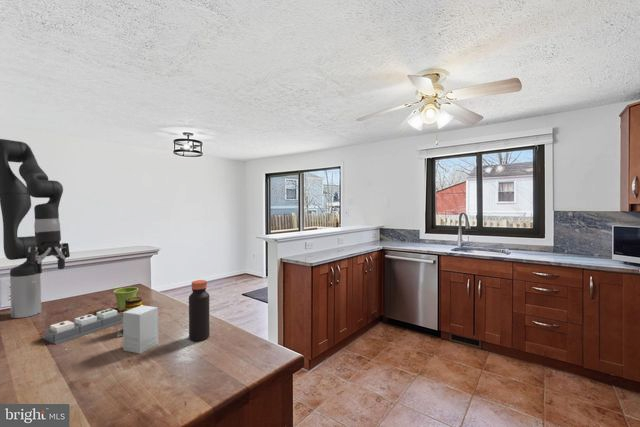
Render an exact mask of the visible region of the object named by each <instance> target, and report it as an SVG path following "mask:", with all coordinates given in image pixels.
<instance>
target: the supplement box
mask: <svg viewBox="0 0 640 427" xmlns="http://www.w3.org/2000/svg"><path fill="white" fill-rule="evenodd" d="M122 320H123V323H122V329H123V336H122V337H123V338H122V339H123V341H122V342H123V344H122V345H123V351H126V352H130V353H135V354H139V355H140V354H142V353H145V352H146V351H149V350H150V349H153V347H156V346H158V345H159V307H156V306H149V305H144V304H142V306H139V307H136V308H133V309H131V310H128V311H125V312H124V311H123V312H122Z"/></svg>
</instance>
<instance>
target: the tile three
mask: <svg viewBox="0 0 640 427" xmlns="http://www.w3.org/2000/svg"><path fill="white" fill-rule="evenodd" d="M117 313H118V309H117V310H116V309H113V308H107V309H103V310H99V311H97V312H96V315H97V317H98V318H101V319H105V318H109V317H112V316H115V315H117Z"/></svg>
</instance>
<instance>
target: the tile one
mask: <svg viewBox="0 0 640 427" xmlns="http://www.w3.org/2000/svg"><path fill="white" fill-rule="evenodd" d="M73 322H74V321H71V320H64V321H61V322H58V323H57V322H56V323H54V324H51V325H49V329H50V331H52V332H54V333H59V332H62V331H66V330H69V329H72V328H74V323H73Z"/></svg>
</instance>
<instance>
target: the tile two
mask: <svg viewBox="0 0 640 427" xmlns="http://www.w3.org/2000/svg"><path fill="white" fill-rule="evenodd" d="M95 321H97V316H96V315H93V314H91V313H90V314H86V315H82V316H79V317H75V318H74V322H75V324H77V325H80V326H82V325H85V324H89V323H92V322H95Z"/></svg>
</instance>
